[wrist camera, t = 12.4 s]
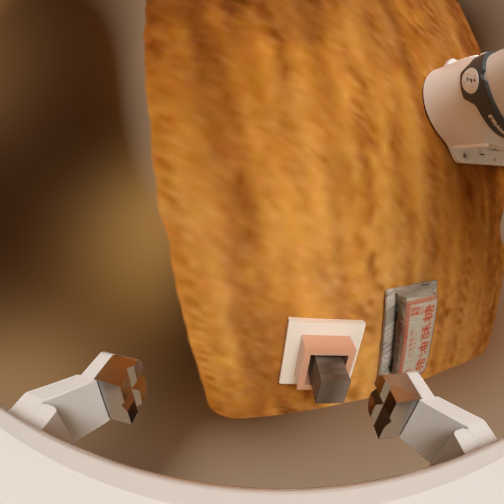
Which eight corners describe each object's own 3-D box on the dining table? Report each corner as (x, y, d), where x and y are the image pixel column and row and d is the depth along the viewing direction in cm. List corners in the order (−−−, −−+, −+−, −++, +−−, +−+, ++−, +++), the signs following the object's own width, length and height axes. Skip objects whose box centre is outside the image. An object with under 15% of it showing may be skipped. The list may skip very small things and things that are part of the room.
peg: (336, 345, 41) (351, 380, 32) (331, 365, 42) (343, 402, 33) (311, 344, 41) (321, 381, 33) (307, 365, 42) (315, 403, 34)
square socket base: (363, 320, 41) (374, 336, 36) (346, 379, 44) (353, 398, 39) (288, 316, 42) (291, 334, 37) (278, 379, 44) (279, 399, 39)
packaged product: (395, 299, 36) (449, 288, 35) (382, 287, 40) (434, 278, 40) (383, 394, 40) (432, 380, 39) (375, 378, 45) (421, 366, 44)
